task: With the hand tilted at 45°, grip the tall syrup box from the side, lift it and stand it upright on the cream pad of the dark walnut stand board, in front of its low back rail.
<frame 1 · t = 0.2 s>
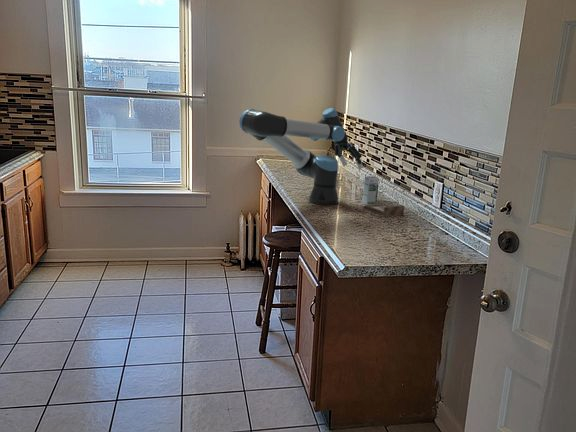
hand: (353, 166, 288), 15 cm above the worktop, tool tilted 35°, fingers open, 13 cm apart
walnut stand board: (383, 211, 256), on the worktop
syrup box: (369, 204, 269), on the worktop
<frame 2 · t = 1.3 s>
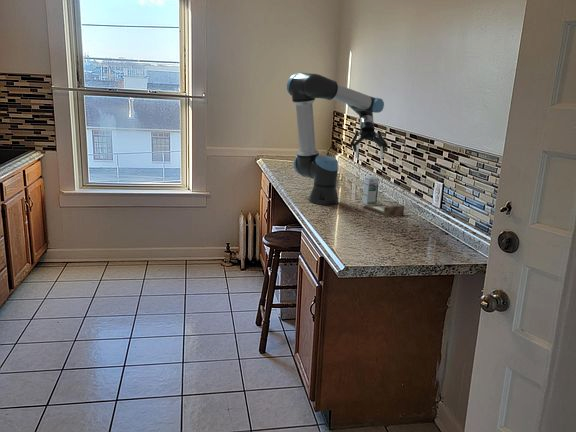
hand: (369, 156, 274), 23 cm above the worktop, tool tilted 45°, fingers open, 13 cm apart
nothing on the worktop moved.
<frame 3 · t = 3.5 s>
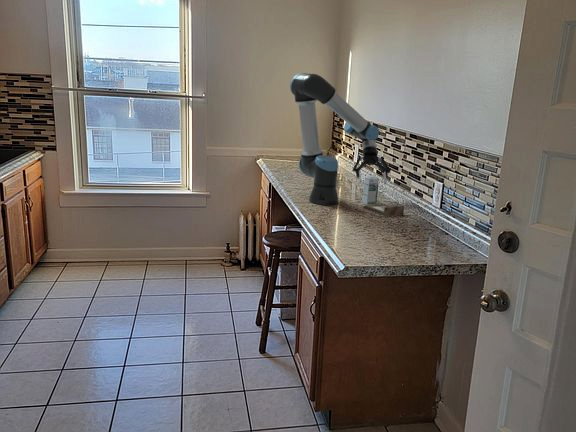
hand: (372, 182, 270), 11 cm above the worktop, tool tilted 45°, fingers open, 13 cm apart
nothing on the worktop moved.
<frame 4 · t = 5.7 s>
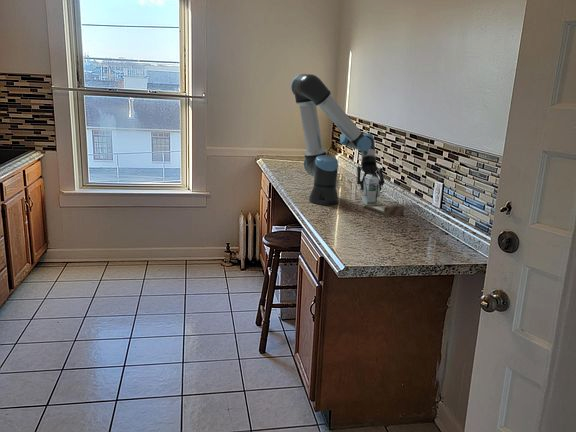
hand: (371, 195, 264), 5 cm above the worktop, tool tilted 45°, fingers closed on syrup box, 7 cm apart
syrup box: (369, 204, 269), on the worktop, touching gripper
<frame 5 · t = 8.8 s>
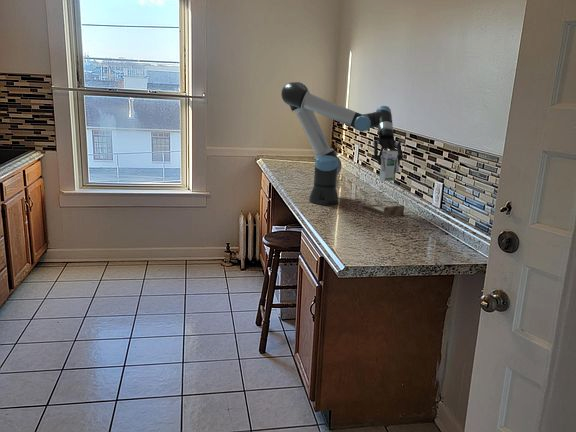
hand: (389, 170, 247), 21 cm above the worktop, tool tilted 45°, fingers closed on syrup box, 7 cm apart
syrup box: (386, 180, 252), point 16 cm above the worktop, touching gripper
when the fingers open (9 cm above the worktop, at t = 12.0 s): syrup box drops 2 cm, resting on walnut stand board.
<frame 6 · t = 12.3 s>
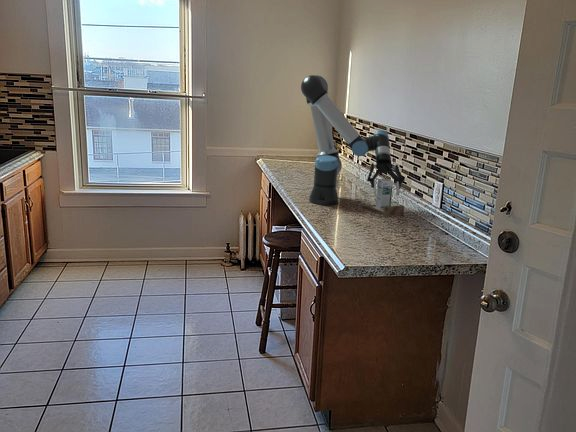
hand: (386, 193, 251), 10 cm above the worktop, tool tilted 45°, fingers open, 11 cm apart
syrup box: (382, 208, 256), point 1 cm above the worktop, touching walnut stand board
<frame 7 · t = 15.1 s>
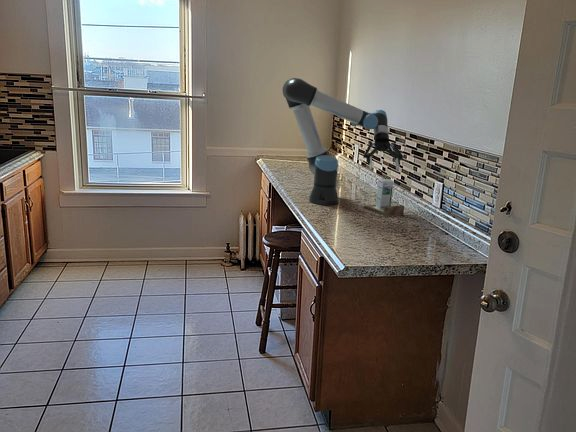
hand: (384, 169, 258), 20 cm above the worktop, tool tilted 45°, fingers open, 13 cm apart
nothing on the worktop moved.
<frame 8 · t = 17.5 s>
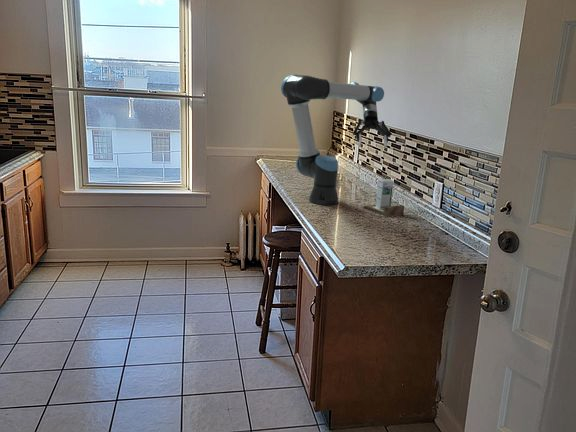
hand: (373, 145, 268), 30 cm above the worktop, tool tilted 45°, fingers open, 13 cm apart
nothing on the worktop moved.
at the end: syrup box inside the target area on the walnut stand board (0.4 cm from its centre), point 1.2 cm above the walnut stand board's base; syrup box tilted 0°; the gripper is holding nothing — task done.
